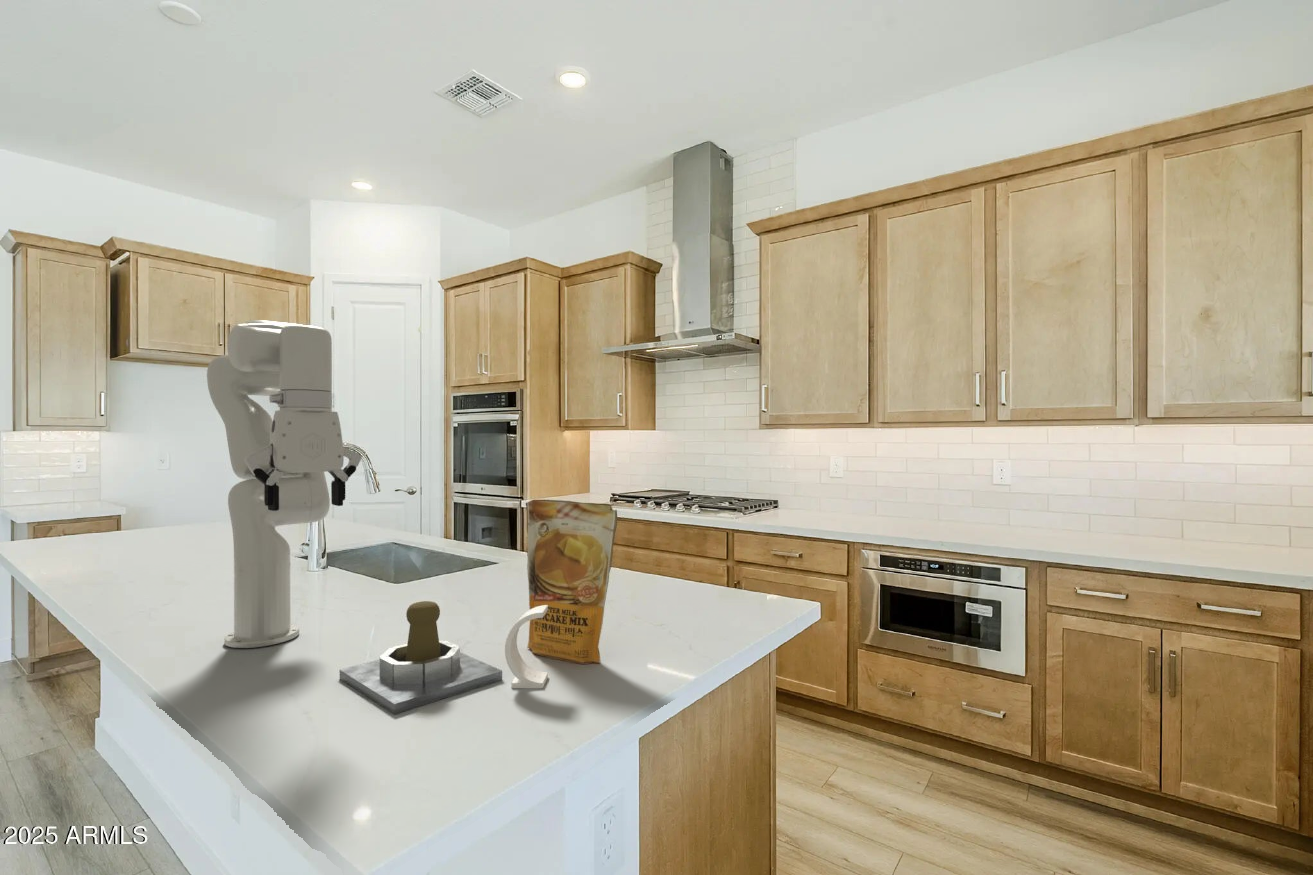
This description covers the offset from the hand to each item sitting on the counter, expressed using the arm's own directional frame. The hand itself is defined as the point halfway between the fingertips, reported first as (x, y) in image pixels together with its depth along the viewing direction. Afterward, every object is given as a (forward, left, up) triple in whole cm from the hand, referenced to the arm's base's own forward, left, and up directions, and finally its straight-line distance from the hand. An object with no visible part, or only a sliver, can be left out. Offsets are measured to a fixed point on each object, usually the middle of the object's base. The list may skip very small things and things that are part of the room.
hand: (306, 507), depth 105 cm
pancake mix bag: (+21, +37, -28) cm, 51 cm away
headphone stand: (+27, +24, -28) cm, 46 cm away
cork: (+13, +14, -27) cm, 33 cm away
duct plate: (+13, +13, -28) cm, 34 cm away
